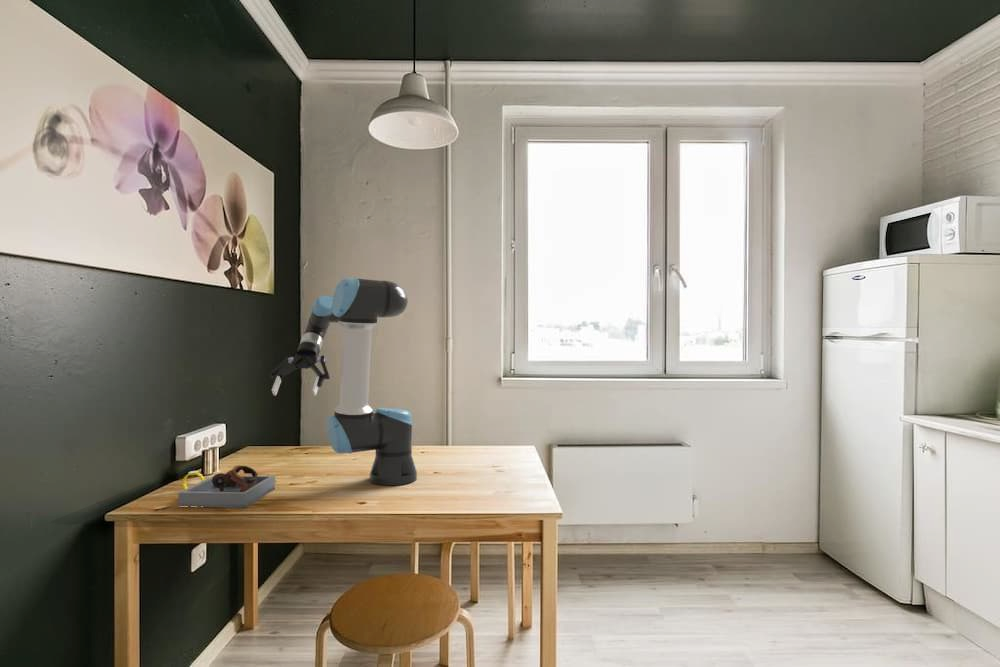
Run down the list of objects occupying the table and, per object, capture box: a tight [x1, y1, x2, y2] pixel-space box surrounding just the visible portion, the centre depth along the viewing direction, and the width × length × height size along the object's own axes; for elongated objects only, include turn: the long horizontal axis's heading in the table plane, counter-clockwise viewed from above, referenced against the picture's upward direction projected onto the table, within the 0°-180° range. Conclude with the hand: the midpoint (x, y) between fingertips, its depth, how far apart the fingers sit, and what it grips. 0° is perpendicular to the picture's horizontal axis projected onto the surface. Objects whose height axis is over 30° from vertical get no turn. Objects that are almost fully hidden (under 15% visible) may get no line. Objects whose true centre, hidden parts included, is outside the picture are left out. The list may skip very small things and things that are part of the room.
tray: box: [177, 475, 276, 509], centre depth 156 cm, size 18×18×4 cm
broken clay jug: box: [212, 464, 258, 492], centre depth 158 cm, size 12×10×8 cm
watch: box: [182, 470, 206, 490], centre depth 162 cm, size 6×3×6 cm, turn 93°
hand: (293, 393), depth 182 cm, fingers open, 13 cm apart
